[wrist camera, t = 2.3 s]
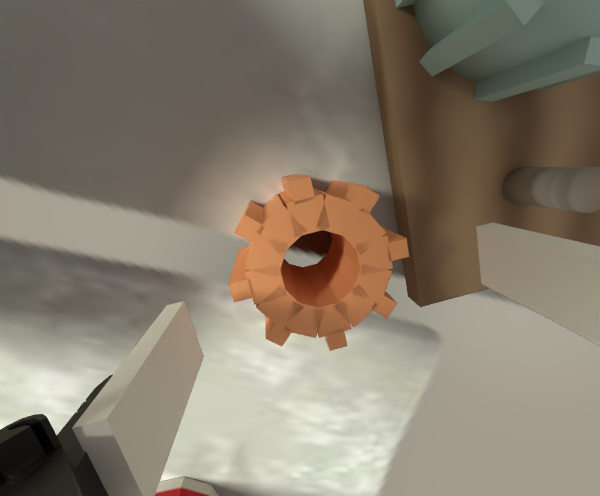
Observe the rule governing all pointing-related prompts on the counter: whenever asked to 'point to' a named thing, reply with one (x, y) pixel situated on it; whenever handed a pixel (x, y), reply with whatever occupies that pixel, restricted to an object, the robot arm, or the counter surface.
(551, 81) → the gear
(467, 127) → the board
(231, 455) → the counter surface
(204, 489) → the spray bottle
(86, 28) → the counter surface
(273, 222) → the gear
